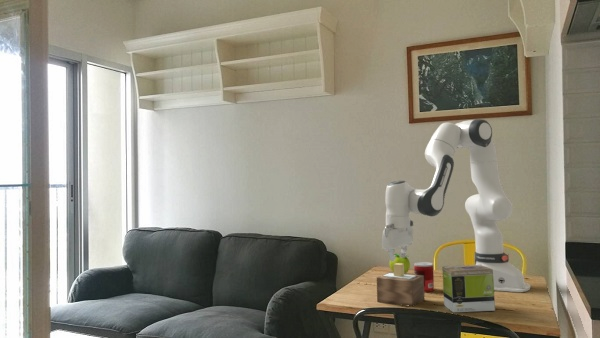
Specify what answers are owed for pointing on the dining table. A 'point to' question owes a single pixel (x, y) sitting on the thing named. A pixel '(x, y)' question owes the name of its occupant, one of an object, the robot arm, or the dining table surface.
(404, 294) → the box
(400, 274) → the lid
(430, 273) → the canned food
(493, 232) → the robot arm
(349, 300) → the dining table surface
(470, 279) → the tea box
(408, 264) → the fruit
